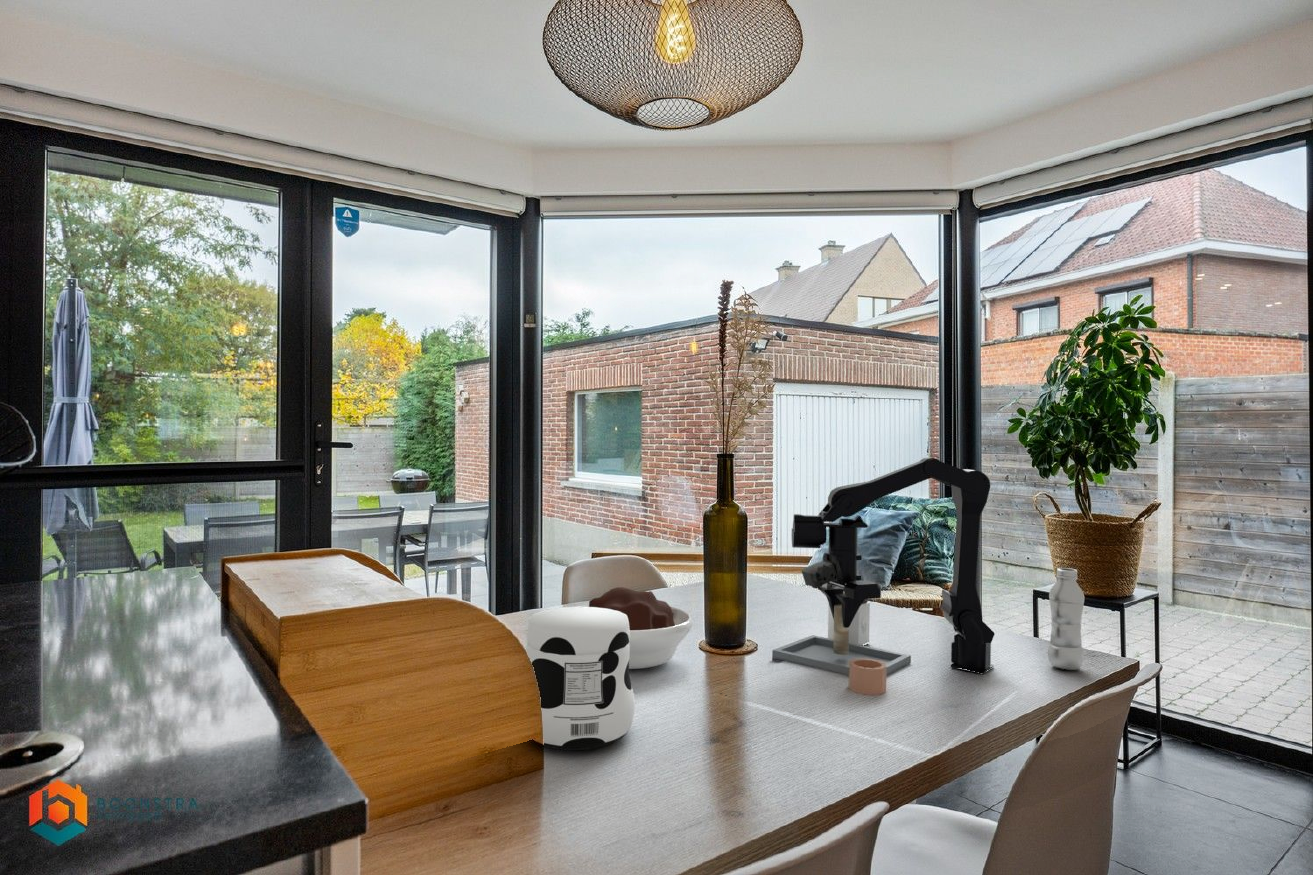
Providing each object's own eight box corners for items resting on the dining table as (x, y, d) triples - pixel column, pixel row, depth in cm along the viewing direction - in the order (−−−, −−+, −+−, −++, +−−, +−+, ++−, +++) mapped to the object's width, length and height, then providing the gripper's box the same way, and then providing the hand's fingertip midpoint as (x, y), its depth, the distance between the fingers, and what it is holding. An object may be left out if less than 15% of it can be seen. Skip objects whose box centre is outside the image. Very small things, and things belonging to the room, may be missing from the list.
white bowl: (658, 641, 171) (659, 573, 171) (714, 673, 149) (715, 595, 149) (550, 652, 161) (551, 580, 161) (592, 689, 138) (593, 605, 138)
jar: (853, 650, 166) (854, 594, 166) (821, 642, 172) (822, 588, 172) (875, 642, 172) (876, 589, 172) (843, 635, 178) (844, 583, 178)
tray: (910, 665, 156) (910, 655, 156) (874, 684, 143) (875, 673, 143) (812, 644, 171) (812, 635, 171) (772, 659, 158) (772, 649, 158)
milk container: (577, 707, 129) (578, 600, 129) (657, 734, 118) (659, 617, 118) (494, 738, 116) (496, 618, 115) (576, 771, 105) (578, 639, 104)
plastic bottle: (1047, 670, 154) (1048, 570, 154) (1047, 661, 160) (1049, 565, 160) (1084, 675, 151) (1085, 573, 151) (1083, 666, 157) (1084, 568, 157)
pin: (851, 652, 157) (851, 605, 157) (844, 655, 155) (845, 608, 155) (837, 649, 159) (838, 603, 159) (830, 652, 157) (831, 605, 157)
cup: (891, 691, 140) (892, 663, 140) (876, 699, 135) (876, 671, 135) (858, 683, 144) (859, 656, 144) (842, 691, 139) (843, 663, 139)
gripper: (785, 543, 163) (784, 617, 163) (833, 557, 145) (832, 640, 146) (831, 542, 167) (830, 614, 167) (883, 555, 149) (882, 635, 149)
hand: (841, 625), depth 157 cm, fingers closed on pin, 3 cm apart
